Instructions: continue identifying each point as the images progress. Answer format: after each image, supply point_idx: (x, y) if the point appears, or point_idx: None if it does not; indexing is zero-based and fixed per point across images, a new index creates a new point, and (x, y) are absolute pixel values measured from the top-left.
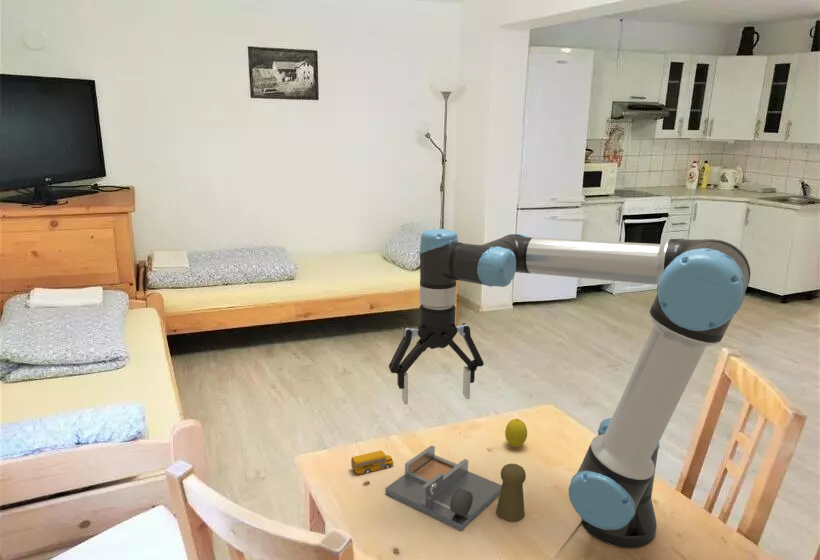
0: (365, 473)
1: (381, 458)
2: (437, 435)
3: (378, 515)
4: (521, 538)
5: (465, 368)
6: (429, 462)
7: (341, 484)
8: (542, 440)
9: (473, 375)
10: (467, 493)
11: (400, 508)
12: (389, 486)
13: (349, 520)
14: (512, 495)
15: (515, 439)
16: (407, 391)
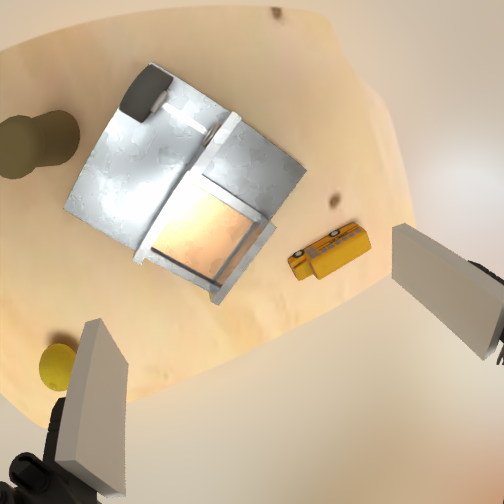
0: (336, 230)
1: (318, 255)
2: (205, 364)
3: (312, 103)
4: (45, 68)
5: (102, 481)
6: (217, 268)
7: (373, 194)
8: (31, 366)
9: (52, 435)
10: (130, 86)
11: (272, 123)
12: (299, 176)
13: (357, 92)
14: (33, 118)
15: (56, 349)
16: (437, 253)
